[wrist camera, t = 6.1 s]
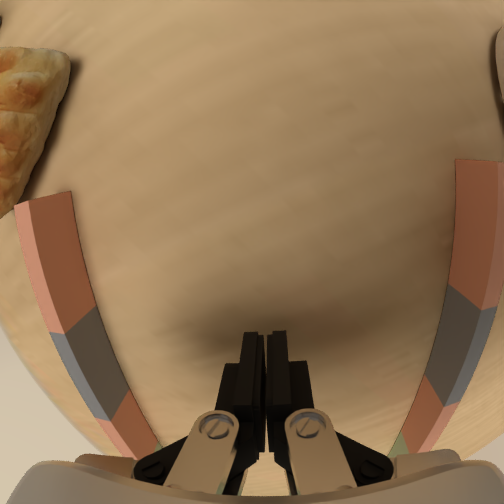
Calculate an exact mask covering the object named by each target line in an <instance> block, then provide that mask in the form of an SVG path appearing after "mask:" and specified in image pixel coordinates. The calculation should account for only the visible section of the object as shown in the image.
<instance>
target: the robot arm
mask: <svg viewBox="0 0 504 504" xmlns="http://www.w3.org/2000/svg"><path fill="white" fill-rule="evenodd" d="M495 45H496V64H497V72H498V79H499V83H500V88H501V94H502V99H503V102H504V26H503V27H502V28H501V29H500V31H499V32H498V34H497V39H496V44H495ZM266 419H267V431H268V444H269V452H274V459H275V462H276V463H277V464H278V465H280V466H281V467H283V468H284V472H285V476H286V481H287V486H288V490H289V495H290V496H241V493H242V490H243V487H244V483H245V480H246V477H247V473H248V467H250V466H251V465H253V464H254V463H256V461H257V460H259V452H265V431H266ZM6 504H504V474H503V473H502V472H501V470H500V469H499V468H498V467H497V466H496V465H494V464H492V463H491V462H488V461H483V460H464V461H461V459H460V457H459V455H458V454H457V453H456V452H455V451H453V450H450V449H442V450H435V451H429V452H421V453H412V454H402V455H397V456H396V457H392V458H388V457H387V456H385V455H383V454H381V453H379V452H377V451H375V450H372V449H370V448H368V447H366V446H364V445H362V444H360V443H358V442H356V441H354V440H352V439H350V438H348V437H346V436H344V435H342V434H340V433H338V432H336V431H335V430H334V427H333V425H332V423H331V420H330V418H329V417H328V415H326V414H325V413H324V412H322V411H320V410H317V409H314V403H313V397H312V390H311V384H310V377H309V371H308V365H307V361H291V362H289V361H288V348H287V336H286V330H284V331H273V335H267V369H266V365H265V351H264V337H263V335H258V332H244V336H243V343H242V349H241V355H240V362H239V363H226V364H225V366H224V371H223V375H222V380H221V384H220V388H219V393H218V397H217V402H216V406H215V410H214V411H209V412H207V413H204V414H202V415H201V416H200V417H198V419H197V420H196V421H195V423H194V425H193V427H192V429H191V431H190V433H189V435H188V436H186V437H184V438H182V439H180V440H178V441H176V442H174V443H172V444H170V445H168V446H166V447H164V448H162V449H160V450H158V451H156V452H154V453H152V454H150V455H147V456H145V457H143V458H142V459H140V460H135V459H134V458H132V457H116V456H105V455H95V454H84V455H81V456H79V457H78V458H77V459H76V460H75V462H69V461H54V460H52V461H42V462H39V463H37V464H35V465H34V466H32V467H31V468H30V469H29V470H28V471H27V472H26V473H25V475H24V476H23V477H22V479H21V480H20V482H19V483H18V485H17V486H16V488H15V489H14V491H13V493H12V494H11V496H10V498H9V499H8V501H7V503H6Z"/></svg>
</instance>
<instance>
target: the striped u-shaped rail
mask: <svg viewBox="0 0 504 504" xmlns="http://www.w3.org/2000/svg"><path fill="white" fill-rule="evenodd" d="M455 166H456V212H455V229H454V241H453V251H452V259H451V267H450V273H449V280H448V286H447V291H446V296H445V301H444V306H443V311H442V315H441V319H440V324H439V327H438V331H437V335H436V339H435V342H434V346H433V349H432V353H431V356H430V359H429V362H428V365H427V368H426V371H425V374H424V377H423V380H422V382H421V385H420V388H419V390H418V393H417V395H416V398H415V400H414V403H413V405H412V408H411V410H410V412H409V414H408V417H407V419H406V421H405V423H404V425H403V427H402V430H401V432H400V434H399V436H398V438H397V440H396V442H395V444H394V445H393V447H392V449H391V451H390V453H389V455H388V458H392V457H396V456H397V455H402V454H412V453H421V452H429V451H430V450H431V449H432V447H433V446H434V444H435V443H436V441H437V440H438V438H439V437H440V435H441V434H442V432H443V430H444V429H445V427H446V425H447V424H448V422H449V420H450V419H451V417H452V415H453V413H454V412H455V410H456V408H457V406H458V404H459V402H460V401H461V399H462V397H463V395H464V393H465V391H466V389H467V387H468V384H469V382H470V380H471V378H472V376H473V374H474V371H475V369H476V367H477V364H478V362H479V359H480V357H481V354H482V352H483V349H484V347H485V344H486V341H487V338H488V335H489V333H490V330H491V327H492V323H493V320H494V317H495V313H496V310H497V306H498V303H499V299H500V295H501V291H502V286H503V282H504V163H502V162H495V161H481V160H461V159H455ZM14 210H15V216H16V222H17V228H18V233H19V238H20V242H21V247H22V251H23V255H24V259H25V263H26V267H27V270H28V274H29V277H30V281H31V284H32V287H33V290H34V293H35V296H36V299H37V302H38V305H39V308H40V310H41V313H42V316H43V318H44V321H45V323H46V326H47V328H48V331H49V333H50V335H51V338H52V340H53V342H54V344H55V347H56V349H57V351H58V353H59V355H60V357H61V359H62V361H63V363H64V365H65V367H66V369H67V371H68V373H69V375H70V377H71V379H72V381H73V382H74V384H75V386H76V388H77V389H78V391H79V393H80V395H81V396H82V398H83V400H84V401H85V403H86V405H87V406H88V408H89V409H90V411H91V412H92V414H93V416H94V417H95V419H96V420H97V422H98V423H99V424H100V426H101V427H102V429H103V430H104V432H105V433H106V434H107V436H108V437H109V439H110V440H111V441H112V443H113V444H114V445H115V447H116V448H117V449H118V450H119V452H120V453H121V454H122V455H123V457H132V458H134V459H135V460H140V459H142V458H143V457H145V456H147V455H150V454H152V453H154V452H156V451H158V450H160V449H162V447H161V445H160V444H159V442H158V441H157V439H156V437H155V436H154V434H153V432H152V430H151V429H150V427H149V425H148V423H147V422H146V420H145V418H144V416H143V414H142V412H141V410H140V409H139V407H138V405H137V403H136V401H135V399H134V397H133V395H132V393H131V391H130V389H129V387H128V384H127V382H126V380H125V378H124V376H123V374H122V371H121V369H120V367H119V364H118V362H117V360H116V357H115V355H114V352H113V350H112V348H111V345H110V342H109V340H108V337H107V335H106V332H105V329H104V326H103V323H102V321H101V318H100V315H99V312H98V309H97V306H96V303H95V299H94V296H93V293H92V289H91V286H90V282H89V279H88V275H87V271H86V268H85V264H84V260H83V255H82V251H81V247H80V242H79V237H78V232H77V227H76V222H75V216H74V210H73V204H72V197H71V191H69V192H64V193H59V194H54V195H50V196H45V197H41V198H37V199H33V200H28V201H25V202H23V203H20V204H17V205H14Z"/></svg>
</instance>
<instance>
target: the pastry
mask: <svg viewBox="0 0 504 504" xmlns="http://www.w3.org/2000/svg"><path fill="white" fill-rule="evenodd" d="M70 68H71V65H70V60H69V57H68V55H67V54H66V53H63V52H59V51H56V50H51V49H45V48H40V49H33V48H23V47H1V48H0V219H1V218H2V217H3V216H4V215H5V214H7V213H8V212H9V211H11V210H12V209H13V208H14V205H16V204H17V203H18V201H19V199H20V197H21V195H22V194H23V193H24V192H23V191H24V187H25V185H26V184H27V183H28V181H29V179H30V173H31V171H32V169H33V167H34V165H35V163H36V162H37V161H38V160H39V158H40V156H41V154H42V152H43V149H44V142H45V141H46V139H47V137H48V135H49V132H50V130H51V126H52V123H53V121H54V119H55V116H56V113H55V112H56V109H57V107H58V104H59V102H60V101H61V100H62V98H63V96H64V94H65V91H66V89H67V86H68V82H69V74H70Z"/></svg>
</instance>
